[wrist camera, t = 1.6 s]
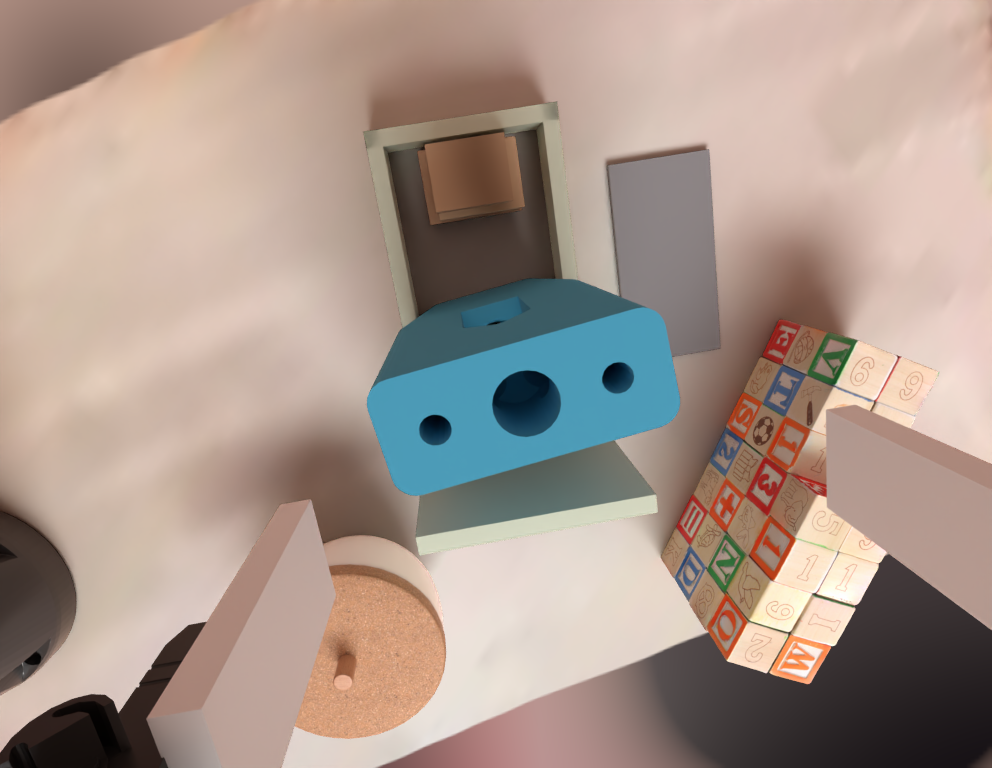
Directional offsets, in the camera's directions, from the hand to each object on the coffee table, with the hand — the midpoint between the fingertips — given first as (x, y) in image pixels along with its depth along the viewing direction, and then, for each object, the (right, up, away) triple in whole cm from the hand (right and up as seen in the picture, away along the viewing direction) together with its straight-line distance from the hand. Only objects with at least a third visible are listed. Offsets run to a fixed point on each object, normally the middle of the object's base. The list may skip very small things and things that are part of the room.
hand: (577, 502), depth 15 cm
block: (-2, +7, +28) cm, 29 cm away
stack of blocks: (+18, -3, +32) cm, 37 cm away
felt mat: (+10, +12, +28) cm, 32 cm away
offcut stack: (-4, +16, +25) cm, 30 cm away
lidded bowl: (-12, -13, +32) cm, 37 cm away
